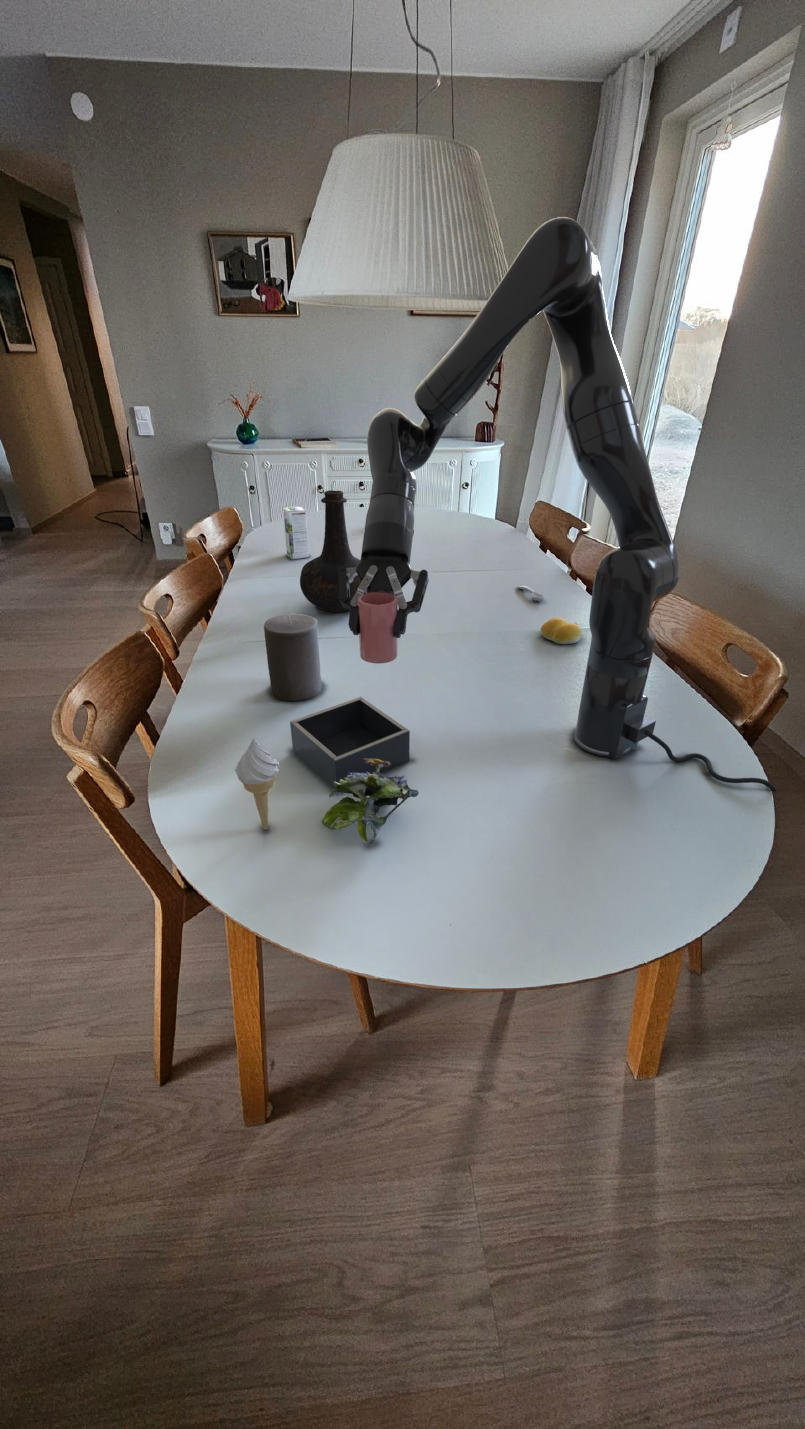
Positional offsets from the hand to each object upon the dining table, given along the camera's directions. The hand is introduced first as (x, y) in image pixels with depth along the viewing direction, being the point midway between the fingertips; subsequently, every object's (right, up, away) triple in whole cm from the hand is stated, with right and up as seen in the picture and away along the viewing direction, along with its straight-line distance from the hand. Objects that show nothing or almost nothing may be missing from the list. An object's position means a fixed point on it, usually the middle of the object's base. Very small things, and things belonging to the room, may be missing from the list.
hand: (376, 634), depth 92 cm
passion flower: (0, -27, -6) cm, 28 cm away
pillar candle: (-16, -7, +28) cm, 33 cm away
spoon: (+38, +20, +73) cm, 85 cm away
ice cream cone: (-15, -28, -7) cm, 32 cm away
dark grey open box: (-5, -19, +8) cm, 21 cm away
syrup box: (-29, +38, +103) cm, 113 cm away
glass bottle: (-13, +16, +66) cm, 69 cm away
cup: (0, -3, +4) cm, 5 cm away
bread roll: (+40, +5, +49) cm, 64 cm away
